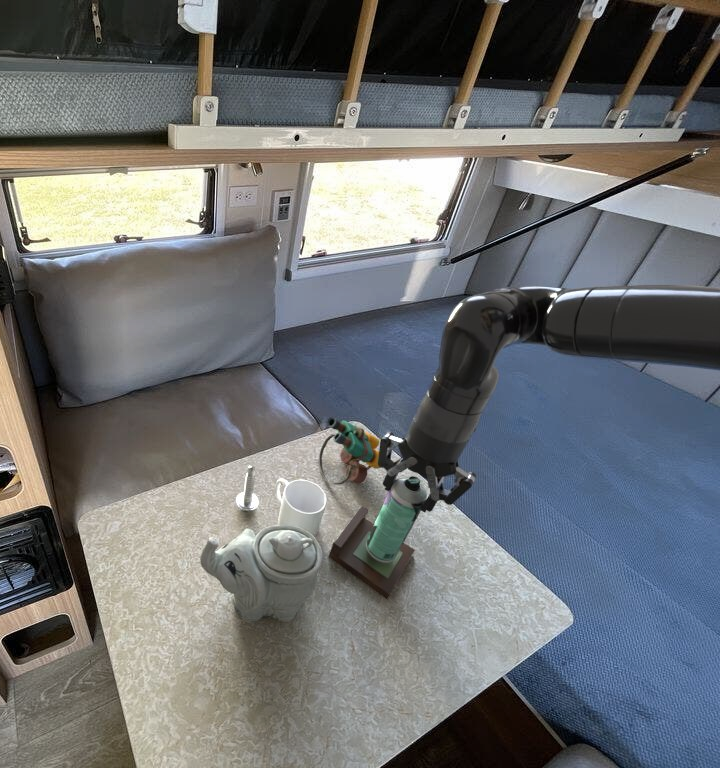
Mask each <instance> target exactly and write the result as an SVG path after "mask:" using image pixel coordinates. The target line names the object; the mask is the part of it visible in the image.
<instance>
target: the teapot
mask: <svg viewBox="0 0 720 768" xmlns="http://www.w3.org/2000/svg"><path fill="white" fill-rule="evenodd" d="M218 547H219V541H218V539H217V538H216V537H213V536H210V537H209V538H208V539H207V542H206V544H205V546H204V548H203V549H202V551H201V554H200V559H199V561H200V565H201V567H202V569H203V570H204V571H205V572H206V573H207V574H209V575H210V576H212V577H214V579H216V580H217V581H218V582H219V583H220V585H221V587H222V588H223V589H224V590H226V591H227V592H228V593H230V594H232V595H233V597H234V598H233V599H234V601H233V602H234V603H233V606H234V609H235V610H236V612H237V613H238V614H239V616H240V617H242V618H243V619H245V620H247V621H250V622H257V621H259V620H261V619H262V618H263V617H266V616H267V617H268V616H269V617H271V618H273V619H275V620H277V621H279V622H282V623H288V622H291V621H292V620H293V619H294V618H295V617H296V615H297V612H298V611H299V610H300V609H301V608H302V607H303V605H304V604H305V602H306V601H307V600H308V599H309V598H310V597H311V595H312V594H313V592H314V589H315V588H316V583H317V580H318V574H319V573H320V571H321V569H322V566H323V560H324V559H323V550H322V547H321V546H320V544H319V542H318V540H317V538H316V536H315V537H314V536H313V535H311V534H310V533H309V532H308V531H306V530H304V529H302V528H299V527H296V526H290V525H278V524H276V525H275V524H274V525H269V526H266V527H264V528H262V529H261V530H260V531H259V532H258V533H257V534H256V533H255V531H253V530H252V529H251V528H246V529H244V530H243V531H242V532H241V533H240V534H239V535H238V536H237V537H236V538H234V539H232V540H231V541H230V542H228V543H226V544H224V545H222V546H221V547H220V548H219V549H218ZM217 549H218V550H217Z"/></svg>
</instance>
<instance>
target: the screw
mask: <svg viewBox="0 0 720 768" xmlns="http://www.w3.org/2000/svg"><path fill="white" fill-rule="evenodd" d="M255 471H256V467H255V466H251V465H249V466H248V469H247V473H246V476H245V481H244V490H243V492H240V493H239V494H237V496H236V498H235V502H236V503H235V504H236V507H238V508H239V509H240V510H241V511H244V512H246V513H249V512H253V511H255V510H256V509H257V508H258V507H259V498H258V497H257V496H256V494H254V489H255V480H256V478H255V477H256V475H255Z"/></svg>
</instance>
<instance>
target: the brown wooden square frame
mask: <svg viewBox="0 0 720 768" xmlns="http://www.w3.org/2000/svg"><path fill="white" fill-rule="evenodd" d="M369 510H370V509H369V508H367V506H365V505H360V507H359V508H358V510H356V512H355V513H354V515H352V518H350V520H349V521H348V523H347V524H346V525H345V527H344V528H343V529H342V530H341V532H340V533H339V535H338V536H337V537H336V538H335V540H334V542H333V543H332V546H331V548H330V551H329V553H328V557H327V558H329V559H330V560H332V561H333V562H334V563H335V564H337V565H338V566H340V567H341V568H342V569H344V570H345V571H346V572H348V573H349V574H351V575H352V576H353V577H354V578H356V579H357V580H359V581H360V582H362V583H363V584H364V585H366V586H367V587H369V588H370V589H371V590H373V591H374V592H375V593H376V594H378V595H379V596H380V597H382V598H383V599H385V600H386V601H387V600H388V599H389V597H390V596H391V594H392V592H393V591H394V588H395V587H396V585H397V583H398V582H399V580H400V578H401V576H402V574H403V573H404V571H405V569H406V568H407V566H408V563H409V562H410V560H411V558H412V556H413V555H414V553H415V551H416V549H414V548H413V547H411V546H410V545H408V544H407V543H405V542H404V543H403V545H402V546H401V548H400V550H399V552H398V554H397V556H396V557H395V559H394V560H393V561H392V562H389V563H383V562H380V561H377V560H376V559H374V558H373V557H372V556H371V555H370V554H369V553H368V551H367V548H366V542H367V540H368V537H369V535H370V533H371V531H372V529H373V526H374V524H375V522H374V523H373V522H372V521H371V520H369V519H367V518H366V517H367V515H368V513H369Z"/></svg>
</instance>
